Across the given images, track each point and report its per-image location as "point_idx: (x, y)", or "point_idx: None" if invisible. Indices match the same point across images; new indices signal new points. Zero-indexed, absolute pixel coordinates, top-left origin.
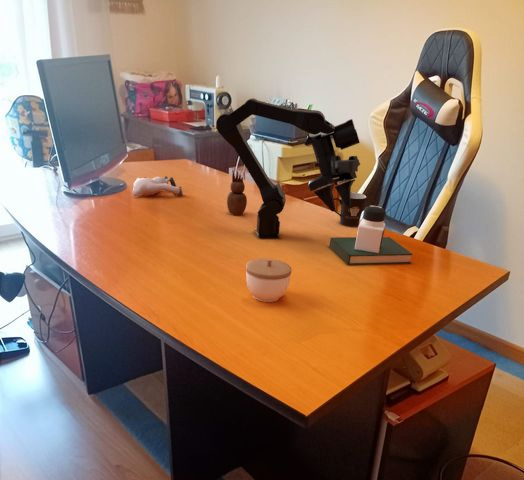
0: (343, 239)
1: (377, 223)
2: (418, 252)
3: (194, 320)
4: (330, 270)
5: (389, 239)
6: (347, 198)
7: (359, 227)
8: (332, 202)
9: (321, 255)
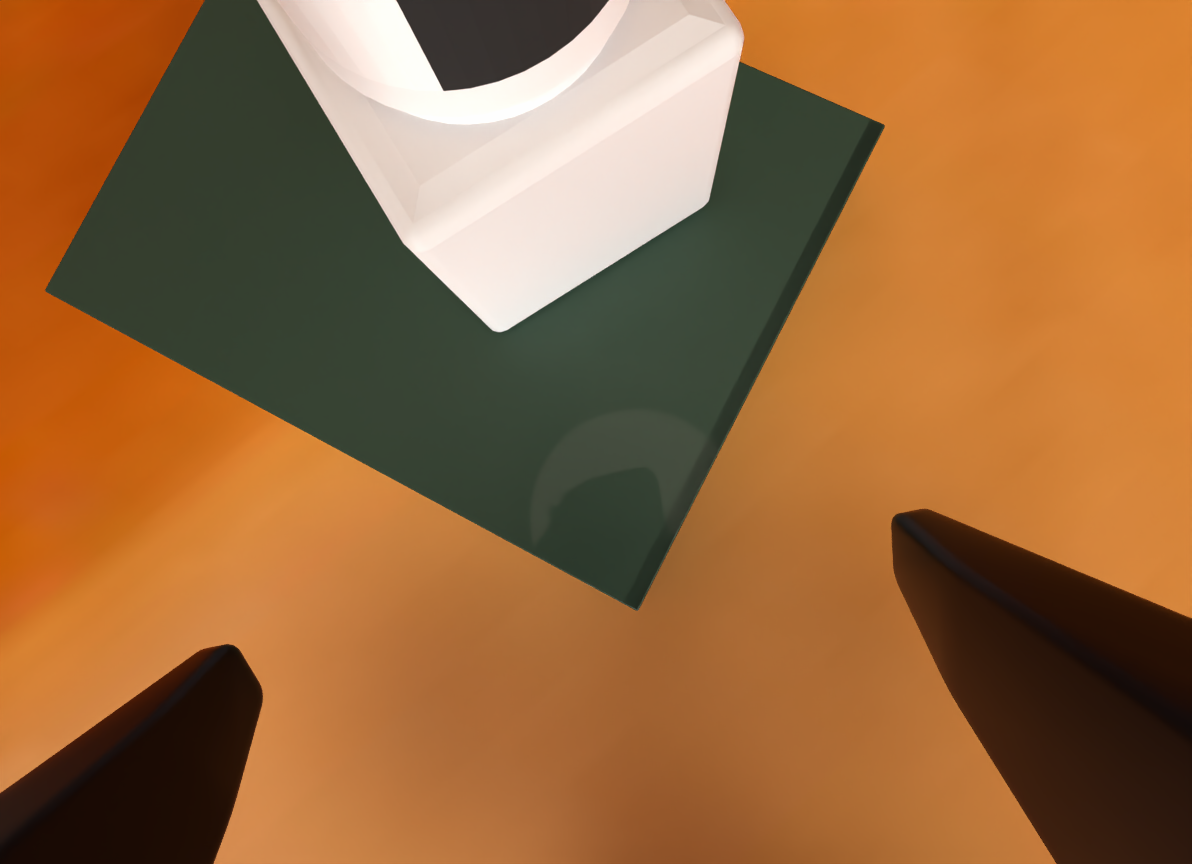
0: (554, 487)
1: None
2: (32, 74)
3: None
4: (1094, 167)
5: (115, 236)
6: (124, 803)
7: (738, 32)
8: (1122, 591)
9: (886, 469)
